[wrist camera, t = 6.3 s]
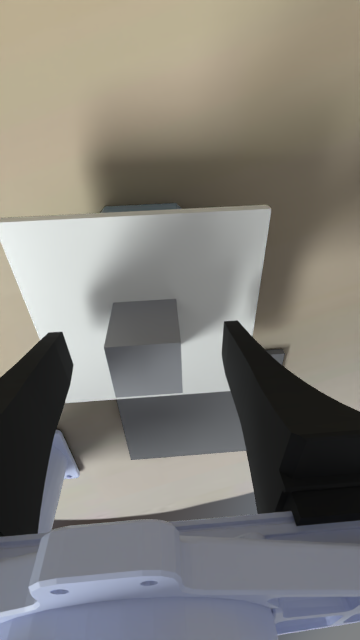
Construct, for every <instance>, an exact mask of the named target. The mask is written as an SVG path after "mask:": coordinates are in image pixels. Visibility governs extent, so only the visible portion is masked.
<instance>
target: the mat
mask: <svg viewBox="0 0 360 640" xmlns="http://www.w3.org/2000/svg"><path fill="white" fill-rule="evenodd" d="M266 351H267V352H268V353H269V354H270V355H271V356H272V357H273V358H274V359H275V360H277V361H278V362H279V363H280V364H281V365H282V363H283V359H284V355H285V353H284V351H283V349H277V350H266ZM116 400H117V404H118V408H119V412H120V416H121V420H122V425H123V429H124V433H125V437H126V441H127V445H128V449H129V454H130V458H131V460H136V459H149V458H161V457H174V456H186V455H198V454H211V453H223V452H235V451H246V446H245V442H244V437H243V432H242V427H241V423H240V420H239V416H238V413H237V410H236V407H235V404H234V400H233V397H232V394H231V391H225V392H211V393H197V394H183V395H170V396H156V397H142V398H128V399H116Z"/></svg>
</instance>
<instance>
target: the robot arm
mask: <svg viewBox="0 0 360 640" xmlns="http://www.w3.org/2000/svg"><path fill="white" fill-rule="evenodd" d="M222 360H223V366H224V371H225V375H226V379H227V382H228V385H229V388H230V391H231V394H232V397H233V400H234V404H235V407H236V410H237V413H238V416H239V420H240V423H241V427H242V432H243V437H244V442H245V446H246V451H247V456H248V461H249V467H250V472H251V477H252V483H253V488H254V494H255V500H256V506H257V512H258V514H252V515H242V516H230V517H219V518H208V519H196V520H185V521H173V522H165V521H162V520H150V519H144V520H143V519H142V520H131V521H120V522H109V523H98V524H86V525H75V526H66V527H62V528H56V529H53V530H52V525H53V522H54V518H55V513H56V509H57V505H58V501H59V497H60V493H61V488H62V484H63V480H64V479H72V478H78V477H79V475H80V472H79V469H78V467H77V465H76V463H75V461H74V458H73V456H72V454H71V452H70V450H69V448H68V445H67V443H66V441H65V439H64V437H63V434H62V432H61V431H59V430H56V428H57V425H58V422H59V419H60V416H61V413H62V410H63V407H64V403H65V400H66V397H67V394H68V391H69V387H70V384H71V378H72V372H73V366H74V365H73V362H72V359H71V356H70V353H69V350H68V347H67V344H66V341H65V338H64V335H63V332H49V333H47V334H46V335H45V336H44V337H43V338H42V339H41V340H40V341H39V342H38V343H37V344H36V345H35V346H34V347H33V348H32V349H31V350H30V351H29V352H28V353H27V354H26V355H25V356H24V357H23V358H22V359H21V360H20V361H19V362H17V363H16V364H15V365H14V366H13V367H12V368H11V369H10V370H9V371H7V372H6V373H5V374H4V375H3V376H2V377H1V378H0V640H279V639H278V635H281V634H288V633H294V632H300V631H307V630H313V629H319V628H325V627H332V626H338V625H344V624H351V623H356V622H360V412H359V411H357V410H355V409H353V408H351V407H348V406H346V405H344V404H342V403H340V402H338V401H336V400H334V399H333V398H331V397H329V396H327V395H325V394H324V393H322V392H320V391H318V390H317V389H315V388H314V387H312V386H310V385H309V384H307V383H306V382H304V381H303V380H301V379H300V378H298V377H297V376H295V375H294V374H293V373H291V372H290V371H289V370H287V369H286V368H285V367H284V366H282V365H281V364H280V363H279V362H278V361H277V360H275V359H274V358H273V357H272V356H271V355H270V354H269V353H268V352H267V351H266V350H265V349H264V348H263V347H262V346H261V345H260V344H259V343H258V342H257V341H256V340H255V339H254V338H253V337H252V336H251V335H250V334H249V333H248V331H247V330H246V329H245V328H244V327H243V326H242V325H241V324H240V322H239V321H237V320H236V321H224V327H223V341H222ZM51 530H52V531H51Z"/></svg>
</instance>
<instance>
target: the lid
mask: <svg viewBox="0 0 360 640" xmlns="http://www.w3.org/2000/svg"><path fill="white" fill-rule="evenodd" d="M270 216H271V208H270V207H269V206H268V205H250V206H230V207H210V208H190V209H170V210H150V211H129V212H109V213H89V214H69V215H49V216H29V217H8V218H0V241H1V244H2V246H3V249H4V251H5V254H6V256H7V259H8V261H9V264H10V266H11V269H12V271H13V274H14V276H15V279H16V281H17V284H18V286H19V288H20V291H21V293H22V296H23V298H24V301H25V303H26V306H27V308H28V311H29V313H30V316H31V318H32V321H33V323H34V326H35V328H36V331H37V333H38V336H39V338H40V340H41V339H42V338H43V337H44V336H45V335H46V334H47V333H49V332H63V335H64V338H65V341H66V344H67V347H68V350H69V353H70V356H71V359H72V362H73V365H74V366H73V372H72V378H71V384H70V387H69V391H68V394H67V397H66V400H65V403H74V402H87V401H101V400H115V399H128V398H142V397H156V396H170V395H183V394H197V393H211V392H225V391H230V388H229V385H228V382H227V379H226V375H225V371H224V366H223V360H222V341H223V327H224V321H236V320H237V321H239V322H240V324H241V325H242V326H243V327H244V328H245V329H246V330H247V331H248V333H249V334H250V335H251V336H253V329H254V323H255V316H256V309H257V303H258V296H259V289H260V283H261V276H262V269H263V263H264V256H265V249H266V243H267V236H268V229H269V223H270Z"/></svg>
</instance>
